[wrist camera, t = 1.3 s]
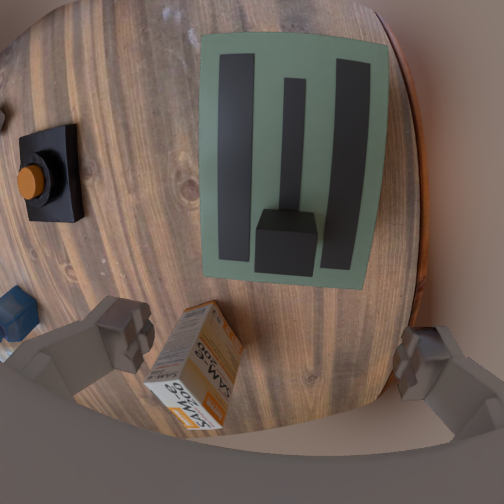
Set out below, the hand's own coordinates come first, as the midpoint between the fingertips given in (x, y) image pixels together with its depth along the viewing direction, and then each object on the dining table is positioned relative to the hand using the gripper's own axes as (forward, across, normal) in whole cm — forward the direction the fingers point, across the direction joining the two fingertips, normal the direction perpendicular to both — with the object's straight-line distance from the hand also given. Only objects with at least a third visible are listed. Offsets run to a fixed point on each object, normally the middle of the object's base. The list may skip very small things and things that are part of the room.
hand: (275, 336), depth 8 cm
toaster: (+21, 0, -4) cm, 21 cm away
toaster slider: (+10, 0, 0) cm, 10 cm away
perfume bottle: (+21, +47, +22) cm, 56 cm away
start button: (+17, +30, -2) cm, 35 cm away
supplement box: (+21, +8, +18) cm, 29 cm away
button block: (+21, +30, -2) cm, 37 cm away
